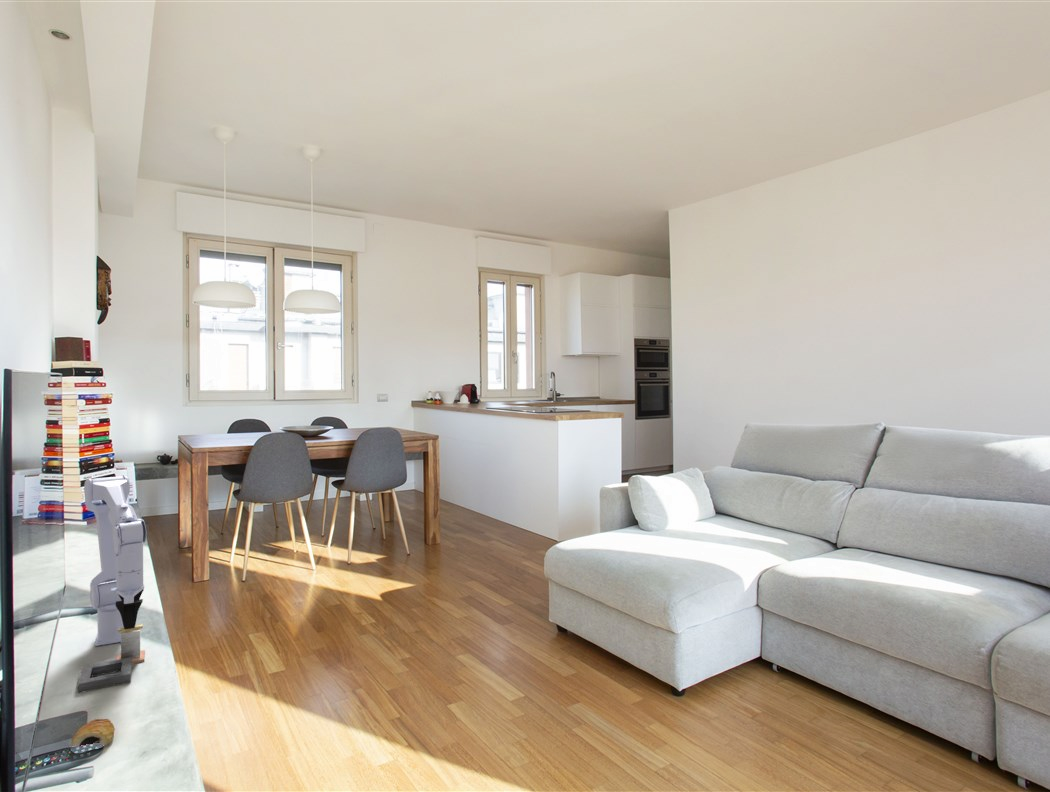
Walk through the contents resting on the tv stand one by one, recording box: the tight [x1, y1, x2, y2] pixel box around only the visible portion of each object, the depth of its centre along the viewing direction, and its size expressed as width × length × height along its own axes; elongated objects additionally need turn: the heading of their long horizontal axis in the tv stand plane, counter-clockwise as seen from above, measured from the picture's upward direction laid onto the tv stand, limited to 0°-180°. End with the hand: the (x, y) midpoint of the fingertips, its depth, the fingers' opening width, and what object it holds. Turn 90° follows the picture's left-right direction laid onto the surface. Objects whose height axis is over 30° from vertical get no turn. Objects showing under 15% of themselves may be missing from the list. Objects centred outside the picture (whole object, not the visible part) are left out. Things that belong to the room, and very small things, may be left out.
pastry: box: [70, 718, 115, 747], centre depth 122 cm, size 9×7×4 cm
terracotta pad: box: [115, 649, 146, 665], centre depth 157 cm, size 6×6×1 cm
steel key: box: [118, 624, 144, 660], centre depth 157 cm, size 5×4×8 cm
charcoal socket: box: [77, 657, 133, 694], centre depth 147 cm, size 10×10×2 cm
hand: (130, 623), depth 157 cm, fingers open, 7 cm apart
